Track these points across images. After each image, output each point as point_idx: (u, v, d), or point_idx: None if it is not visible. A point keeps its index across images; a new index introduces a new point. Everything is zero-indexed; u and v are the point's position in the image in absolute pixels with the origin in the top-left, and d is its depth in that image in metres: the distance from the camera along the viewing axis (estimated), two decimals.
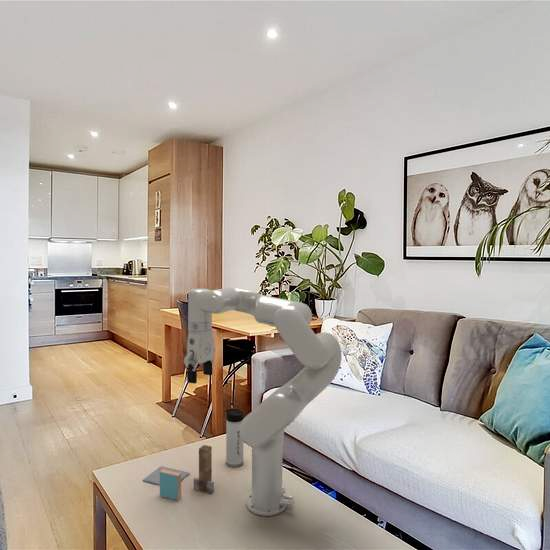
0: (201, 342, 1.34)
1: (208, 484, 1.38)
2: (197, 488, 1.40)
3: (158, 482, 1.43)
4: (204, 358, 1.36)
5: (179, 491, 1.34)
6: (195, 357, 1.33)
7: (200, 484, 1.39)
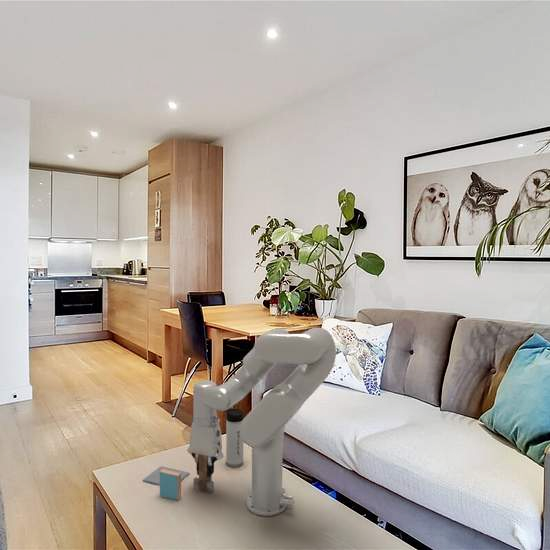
0: None
1: (208, 484, 1.38)
2: (197, 488, 1.40)
3: (158, 482, 1.43)
4: None
5: (179, 491, 1.34)
6: None
7: (200, 484, 1.39)
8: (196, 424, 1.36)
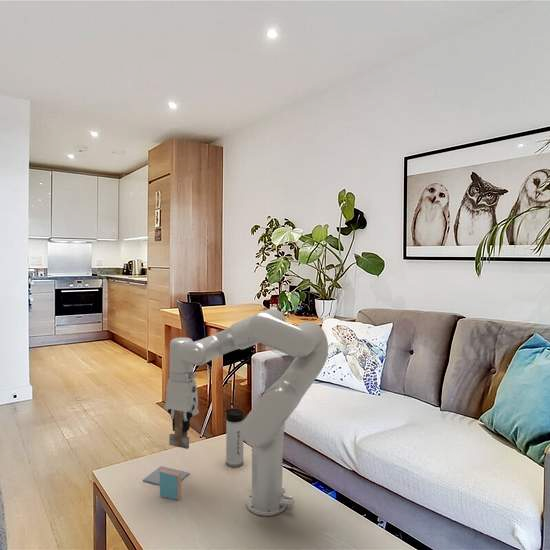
0: None
1: (183, 439, 1.39)
2: (173, 444, 1.41)
3: (158, 482, 1.43)
4: None
5: (179, 491, 1.34)
6: None
7: (176, 440, 1.40)
8: (172, 379, 1.37)
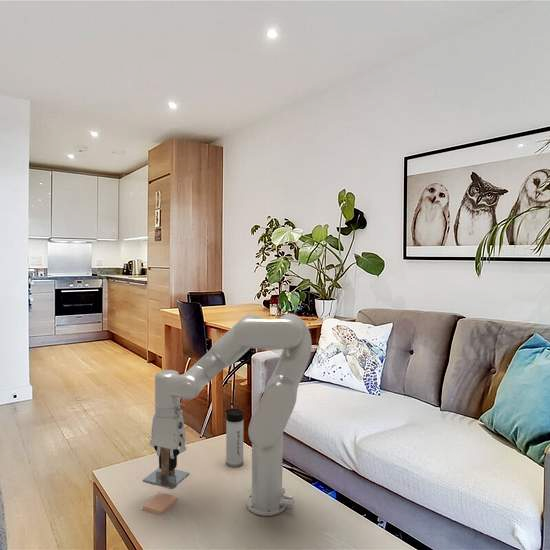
0: None
1: (170, 478, 1.32)
2: (159, 482, 1.34)
3: None
4: None
5: (172, 504, 1.31)
6: None
7: (162, 478, 1.33)
8: (157, 415, 1.30)
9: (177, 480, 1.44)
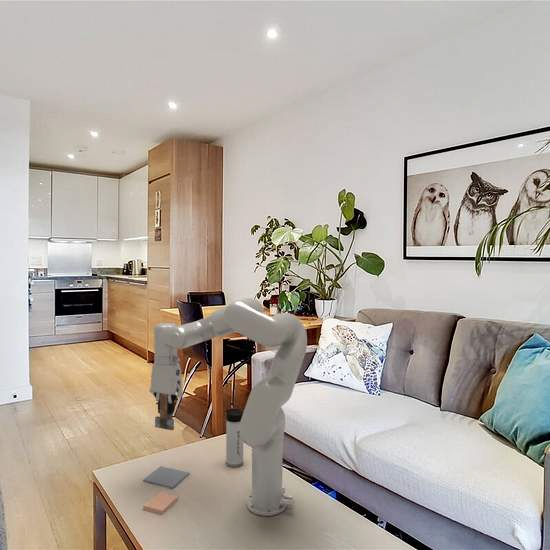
0: None
1: (168, 421, 1.44)
2: (158, 426, 1.45)
3: (158, 482, 1.43)
4: None
5: (173, 503, 1.32)
6: None
7: (161, 422, 1.45)
8: (156, 363, 1.42)
9: (177, 480, 1.44)
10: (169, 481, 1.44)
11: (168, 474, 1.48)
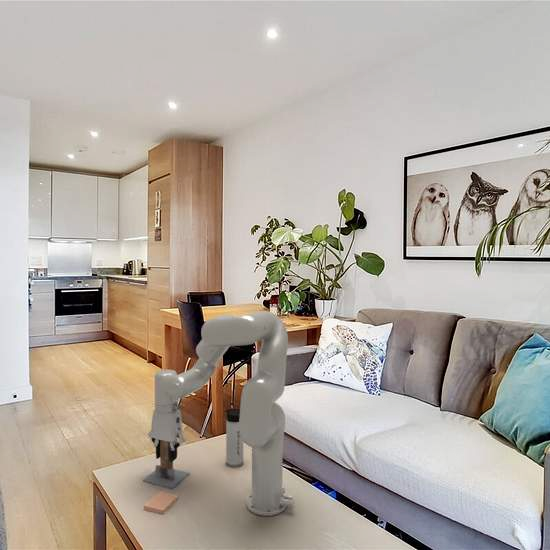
0: None
1: (169, 471, 1.45)
2: (159, 475, 1.47)
3: (158, 482, 1.43)
4: None
5: (173, 503, 1.32)
6: None
7: (161, 471, 1.46)
8: (157, 411, 1.43)
9: (177, 480, 1.44)
10: (169, 481, 1.44)
11: None
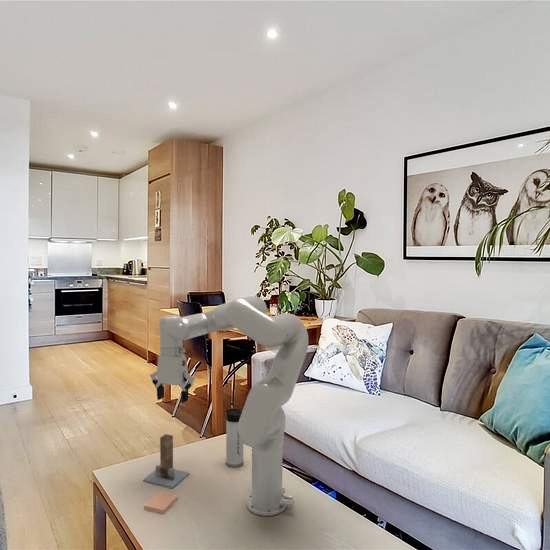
0: None
1: (169, 471, 1.45)
2: (159, 475, 1.47)
3: (158, 482, 1.43)
4: None
5: (173, 502, 1.32)
6: None
7: (161, 471, 1.46)
8: (162, 354, 1.44)
9: (177, 480, 1.44)
10: (169, 481, 1.44)
11: None
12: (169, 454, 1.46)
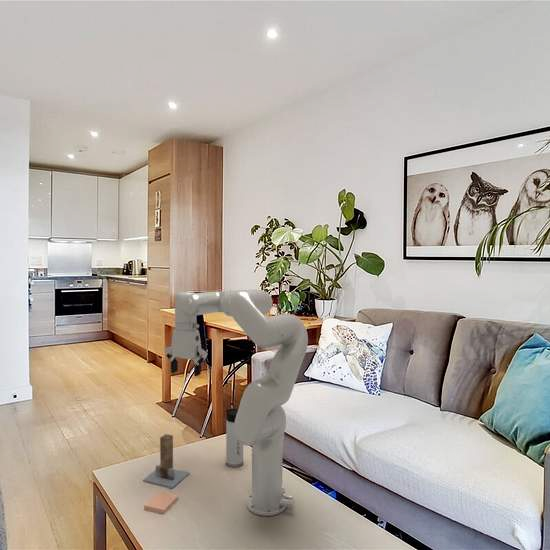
0: None
1: (169, 471, 1.45)
2: (159, 475, 1.47)
3: (158, 482, 1.43)
4: None
5: (173, 502, 1.32)
6: None
7: (161, 471, 1.46)
8: (177, 329, 1.49)
9: (177, 480, 1.44)
10: (169, 481, 1.44)
11: None
12: (169, 454, 1.46)
